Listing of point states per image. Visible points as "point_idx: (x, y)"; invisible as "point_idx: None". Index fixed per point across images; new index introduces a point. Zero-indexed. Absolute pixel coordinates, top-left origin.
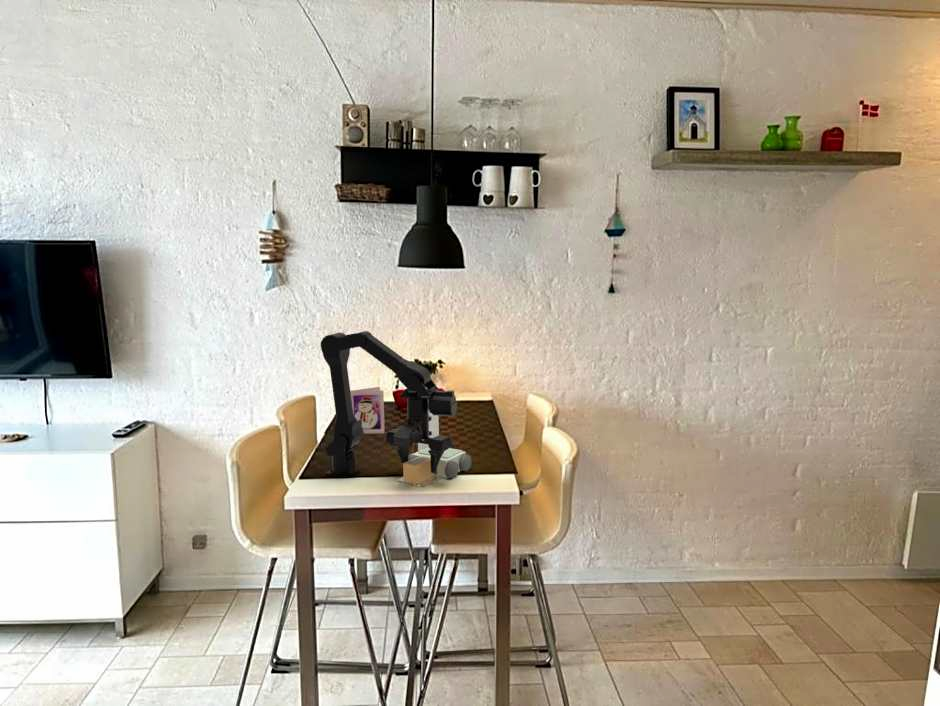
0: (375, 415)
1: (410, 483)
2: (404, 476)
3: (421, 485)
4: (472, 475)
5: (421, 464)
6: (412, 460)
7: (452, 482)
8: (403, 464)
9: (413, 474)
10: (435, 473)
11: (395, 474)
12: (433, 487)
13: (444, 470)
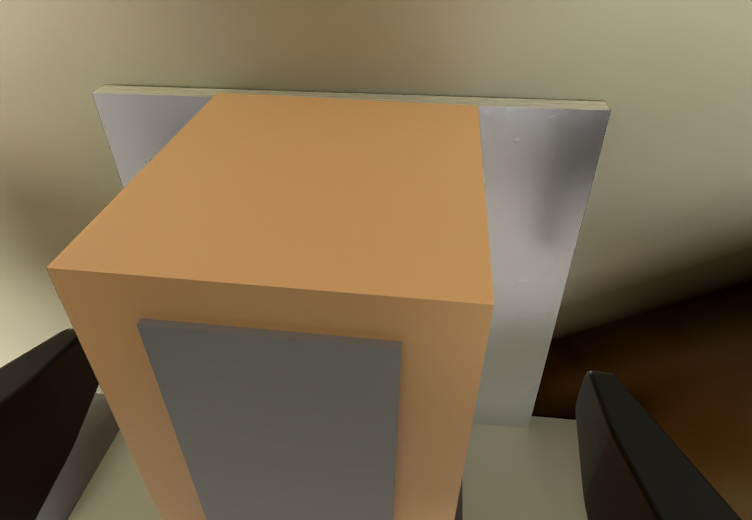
0: None
1: (343, 97)
2: (453, 137)
3: (143, 92)
4: None
5: (117, 394)
6: (409, 487)
7: (29, 332)
8: (481, 283)
9: (226, 159)
10: None
11: (749, 307)
12: (17, 133)
13: None
